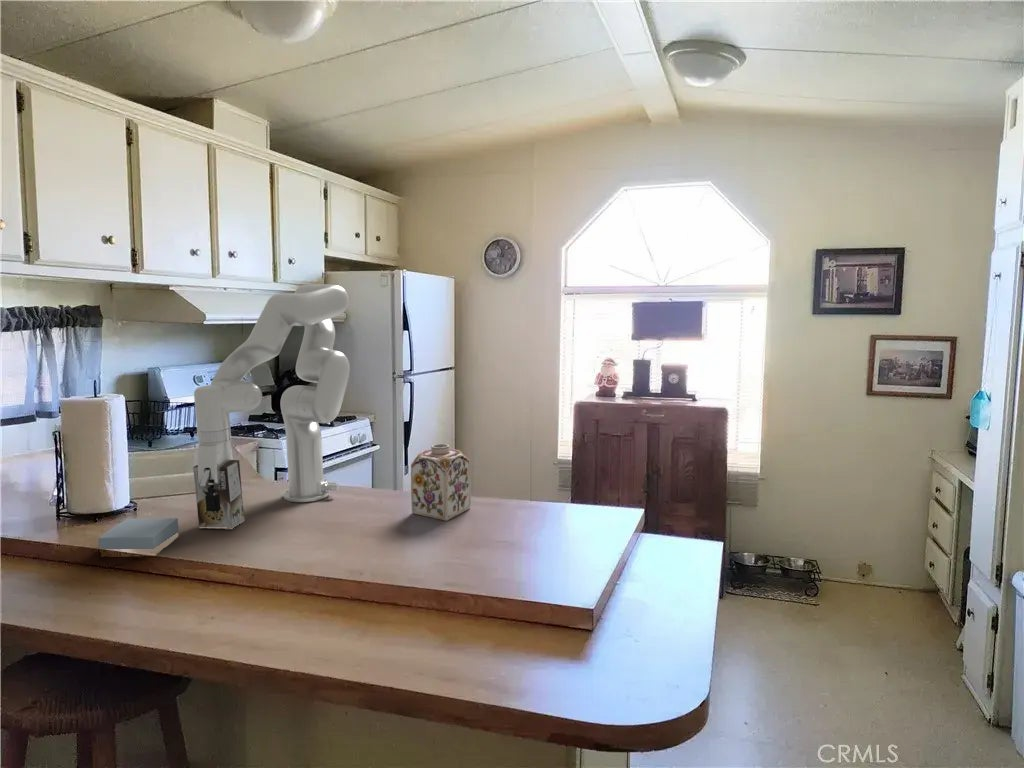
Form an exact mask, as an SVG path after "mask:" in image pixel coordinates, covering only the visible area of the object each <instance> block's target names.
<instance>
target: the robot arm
mask: <svg viewBox="0 0 1024 768" xmlns="http://www.w3.org/2000/svg"><path fill="white" fill-rule="evenodd" d="M348 295H349V294H348V293H347V291H346V290H345V288H343V287H342V286H340V285H337V284H331V283H330V284H328V283H327V284H326V283H325V284H322V283H321V284H319V283H317V284H316V283H311V284H309V283H307V284H303V285H300V286H299V287H297V288H296V289H295V291H294V292H293V293H292V292H291V293H290V292H289V293H285V292H284V293H283V292H281V293H276V294H273V295H272V296H270V297H269V299H268V300H267V302H266V304H264V307H263V310H262V311H261V313H260V315H259V317H258V319H257V321H256V322H255V325H254V327H253V328H252V331H251V332H250V334H249V336H248V337H247V339H246V340H245V341H244V342H243V343H241V345H239V346H238V347H237V348H235V350H234V351H232V353H230V354H228V356H227V357H226V359H224V360H223V361H222V363H221V364H220V366H219V367H218V369H217V371H216V373H215V375H214V377H213V379H212V381H211V383H210V384H209V385H202V386H199V387H197V388H196V389H195V390H194V393H193V400H194V410H195V411H194V413H195V420H196V421H195V422H196V434H197V443H198V446H197V447H198V448H197V465H198V481H199V484H201V485H200V487H201V488H202V490H203V492H204V496H205V498H206V510H207V511H219V510H220V499H219V495H217V493H218V484H219V483H220V467H221V466H223V465H224V464H226V463H227V462H229V461H230V460H234V458H233V456H234V455H233V449H232V444H231V441H232V433H231V432H232V431H231V430H232V429H231V422H230V421H231V419H230V418H231V417H230V414H231V413H245V412H250V411H253V410H255V409H256V408H257V407H259V406H260V404H261V402H262V399H263V392H262V390H261V389H260V387H259V386H258V385H257V384H255V383H252V382H251V381H243V379H244V378H245V376H246V375H247V374H248V373H249V372H250V371H251V370H252V369H254V368H255V367H257V366H259V365H261V364H263V363H266V362H268V361H270V360H273V358H274V359H275V357H277V356H279V354H280V353H281V351H282V349H283V346H284V344H285V342H286V340H287V339H288V336H289V334H290V332H291V330H292V328H293V327H295V326H296V327H304V333H303V336H302V337H303V338H302V340H301V345H300V349H299V352H298V356H297V359H296V364H295V373H296V376H297V377H298V378H299V379H301V380H302V381H305V382H310V383H315V384H317V386H309V385H300V384H299V385H292V386H290V387H287V388H286V389H285V390H284V391H283V392H282V395H281V398H280V403H279V404H280V410H281V415H282V419H283V423H284V430H285V440H286V441H285V442H286V445H285V446H286V457H287V458H286V459H287V462H286V464H287V477H288V489H286V490H285V491H284V492H283V499H284V500H285V501H287V502H291V503H292V502H293V503H309V502H315V501H320V500H323V499H325V498H327V497H328V496H330V493H331V491H332V492H336V491H337V492H338V491H339V484H338V483H337V482H336V481H335V482H329V481H327V477H325V476H324V465H323V464H324V463H323V445H322V444H323V443H322V440H323V439H322V431H321V427H320V424H328V423H331V422H333V421H334V420H335V419H336V418H337V416H338V415H339V413H340V411H341V408H342V404H343V401H344V397H345V393H346V389H347V387H348V383H349V382H348V381H349V378H350V371H351V368H350V361H349V359H348V357H347V356H346V355H345V354H344V353H343V352H341V351H339V350H336V349H334V348H333V347H334V345H335V340H336V328H335V325H334V322H333V320H332V319H333V318H336V317H338V316H340V315H342V314H343V313H344V312H345V311H346V310H347V308H348V306H349V301H350V300H349V296H348ZM319 423H320V424H319ZM209 480H214V483H209ZM209 486H214V490H213V489H212V488H211V487H209Z"/></svg>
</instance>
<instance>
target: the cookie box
mask: <svg viewBox="0 0 1024 768" xmlns="http://www.w3.org/2000/svg"><path fill="white" fill-rule="evenodd" d="M192 470H193V471H192V472H193V479H194V489H195V498H196V500H195V501H196V508H197V518H198V519H197V520H198V521H197V522H198V528H199V527H227V528H233V527H235V526H237V525H238V526H240V525H241V524H242V523H244V522H245V515H244V513H245V512H244V511H245V510H244V504H243V503H244V502H243V500H244V499H243V490H242V489H243V488H242V477H241V466H240V460H239V459H233V460H230V461H229V462H227V463H226V464H224V465H223V466H221V467H220V483H219V484H218V493H217V495H219V499H220V510H219V511H207V510H206V498H205V496H204V492H203V490H202V488H201V487H200V485H201V484H199V481H198V464H197V465H194V466H193V467H192ZM209 483H214V480H209ZM209 487H211V488H212V489H213V490H214V486H209ZM239 524H240V525H239ZM238 526H237V527H238Z"/></svg>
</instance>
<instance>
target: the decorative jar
mask: <svg viewBox="0 0 1024 768" xmlns="http://www.w3.org/2000/svg"><path fill="white" fill-rule="evenodd" d="M471 488H472V487H471V461H470V459H469V458H468V456H466V454H464V453H463V452H462V451H461V450H459V449H455V448H450V445H449V444H446V443H437V444H433V445H431V447H430V449H426V450H423V451H419V453H418V454H417V456H416V457H415V458H414V460H413V461H412V462H411V463H410V500H411V513H412V514H414V515H417V516H422V517H427V518H432V519H436V520H440V521H446V522H447V521H449V520H451V519H453V518H455V517H457V516H460V515H461V514H462V513H464V512H466V511H468V510H469V509H471V506H472V505H471V503H472V500H471V498H472V495H471V492H472V491H471V490H472V489H471Z"/></svg>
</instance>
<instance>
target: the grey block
mask: <svg viewBox="0 0 1024 768" xmlns="http://www.w3.org/2000/svg"><path fill="white" fill-rule="evenodd" d="M178 521H179V518H178V517H169V518H167V517H166V518H165V517H161V518H160V517H159V518H158V517H157V518H155V517H153V518H151V517H150V518H126V519H124V520H123V521H121V522H120V523H118V524H117V525H115V526H114V527H112V528H111V529H109V530H108V531H106V532H105V533H103V534H102V535H100V536H99V537H98V538H97V539H98V549H154V548H156V547H157V546H159V545H160V544H161V543H163V542H164V541H166V540H167V539H169V538H170V537H172V536H173V535H175V534H176V533H178V532H179V522H178ZM179 533H180V532H179Z"/></svg>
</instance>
